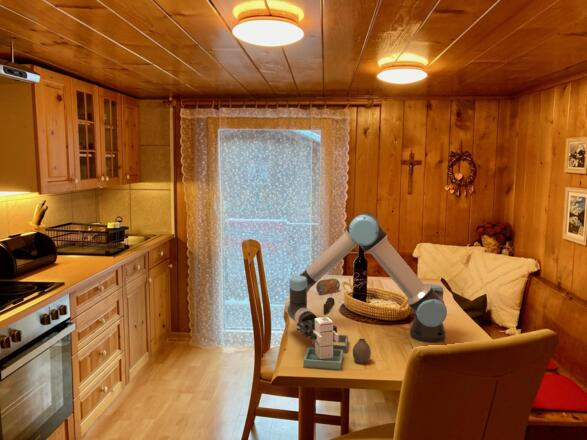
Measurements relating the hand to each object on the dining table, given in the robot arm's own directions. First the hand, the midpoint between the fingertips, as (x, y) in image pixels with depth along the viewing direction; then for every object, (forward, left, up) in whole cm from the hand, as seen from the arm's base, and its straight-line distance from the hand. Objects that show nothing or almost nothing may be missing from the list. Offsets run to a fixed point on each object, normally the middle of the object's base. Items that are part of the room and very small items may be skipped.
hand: (329, 339), depth 178 cm
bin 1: (+2, -20, -11) cm, 23 cm away
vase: (-12, -8, -11) cm, 18 cm away
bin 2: (+3, -4, -11) cm, 12 cm away
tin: (+11, -98, -11) cm, 100 cm away
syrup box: (+3, -4, -9) cm, 10 cm away
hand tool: (+7, -69, -12) cm, 71 cm away
